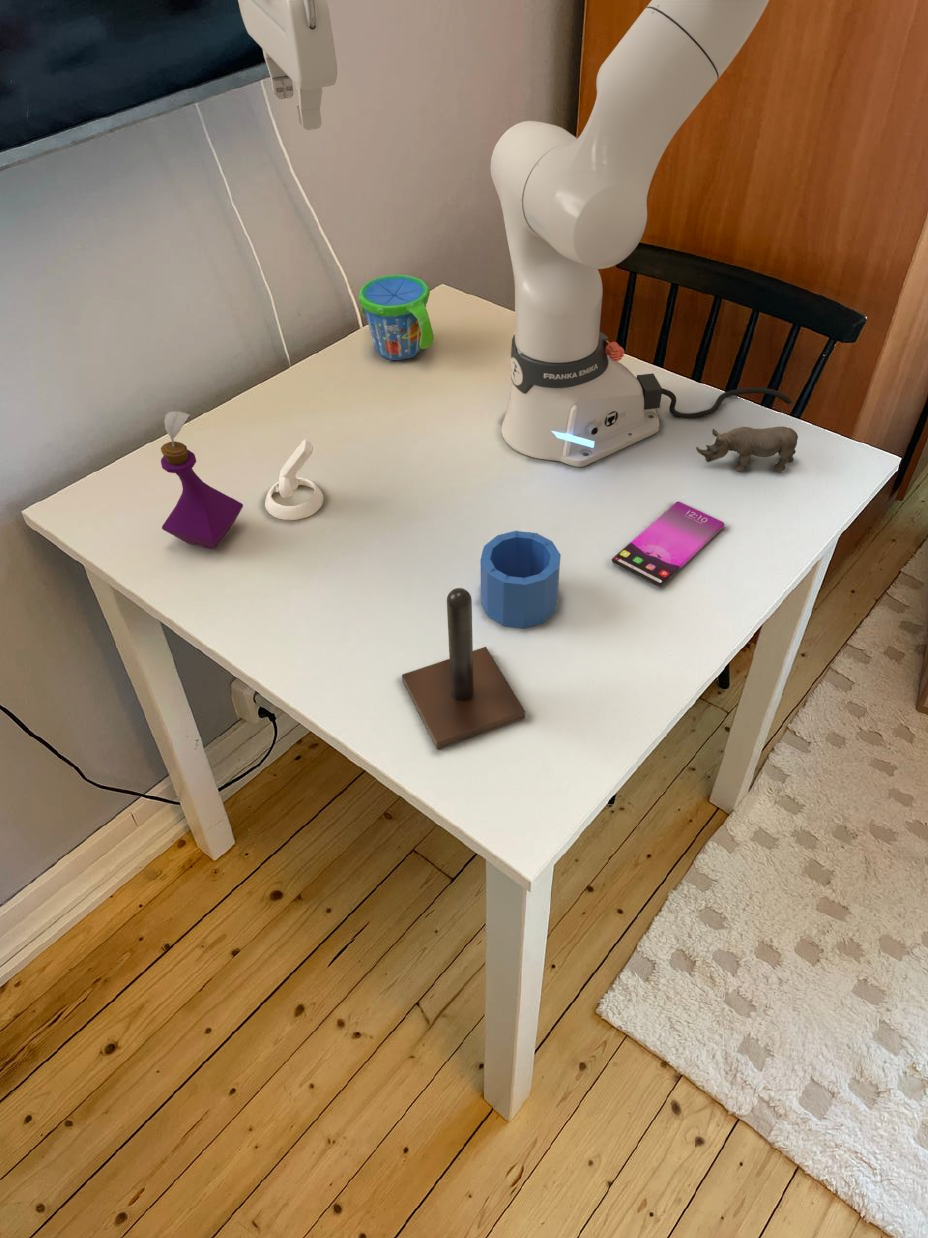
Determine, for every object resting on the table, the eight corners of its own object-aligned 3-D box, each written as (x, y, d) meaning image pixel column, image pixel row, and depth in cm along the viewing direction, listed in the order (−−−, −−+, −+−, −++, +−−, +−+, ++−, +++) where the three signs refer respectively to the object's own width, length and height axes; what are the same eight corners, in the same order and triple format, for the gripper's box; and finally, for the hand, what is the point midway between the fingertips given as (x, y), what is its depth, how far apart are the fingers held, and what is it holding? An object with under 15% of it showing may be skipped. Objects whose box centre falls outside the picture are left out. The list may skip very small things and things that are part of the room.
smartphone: (609, 564, 117) (610, 558, 116) (676, 503, 125) (677, 498, 124) (660, 590, 114) (660, 585, 113) (725, 526, 121) (726, 521, 121)
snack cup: (345, 339, 155) (338, 279, 148) (401, 320, 159) (396, 261, 152) (396, 382, 146) (391, 320, 139) (453, 360, 150) (451, 299, 143)
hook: (352, 488, 120) (302, 471, 116) (308, 540, 128) (259, 525, 124) (350, 443, 124) (301, 425, 120) (307, 496, 132) (260, 480, 128)
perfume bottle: (219, 561, 119) (185, 441, 106) (167, 548, 121) (128, 428, 108) (248, 523, 124) (220, 404, 111) (198, 511, 126) (164, 393, 113)
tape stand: (485, 653, 107) (485, 545, 96) (524, 717, 101) (529, 610, 89) (402, 681, 105) (391, 573, 93) (437, 749, 98) (429, 642, 87)
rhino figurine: (690, 455, 132) (696, 418, 128) (791, 455, 132) (801, 418, 127) (694, 474, 129) (701, 437, 125) (797, 473, 129) (808, 436, 124)
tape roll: (488, 571, 117) (488, 527, 112) (560, 579, 115) (563, 535, 110) (475, 622, 111) (475, 578, 106) (551, 632, 109) (554, 588, 104)
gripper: (345, -37, 78) (361, 141, 88) (278, -84, 92) (299, 76, 102) (270, -28, 77) (295, 152, 87) (212, -76, 90) (240, 85, 100)
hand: (297, 111), depth 94 cm, fingers open, 8 cm apart
